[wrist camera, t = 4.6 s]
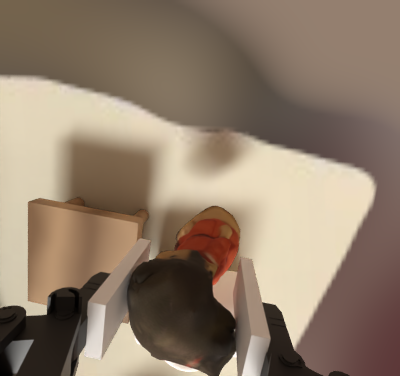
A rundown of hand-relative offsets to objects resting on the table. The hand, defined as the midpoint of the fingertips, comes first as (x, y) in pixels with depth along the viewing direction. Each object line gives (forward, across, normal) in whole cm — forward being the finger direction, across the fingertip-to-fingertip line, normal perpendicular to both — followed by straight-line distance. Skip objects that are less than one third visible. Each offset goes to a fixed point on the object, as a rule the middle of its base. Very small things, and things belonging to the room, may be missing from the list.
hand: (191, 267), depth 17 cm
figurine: (+6, +1, 0) cm, 6 cm away
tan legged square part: (+13, -11, -6) cm, 18 cm away
